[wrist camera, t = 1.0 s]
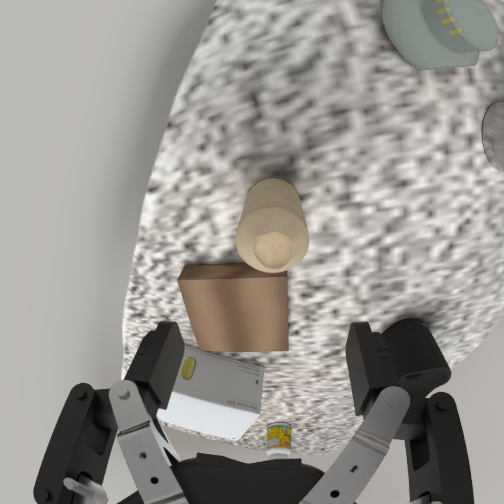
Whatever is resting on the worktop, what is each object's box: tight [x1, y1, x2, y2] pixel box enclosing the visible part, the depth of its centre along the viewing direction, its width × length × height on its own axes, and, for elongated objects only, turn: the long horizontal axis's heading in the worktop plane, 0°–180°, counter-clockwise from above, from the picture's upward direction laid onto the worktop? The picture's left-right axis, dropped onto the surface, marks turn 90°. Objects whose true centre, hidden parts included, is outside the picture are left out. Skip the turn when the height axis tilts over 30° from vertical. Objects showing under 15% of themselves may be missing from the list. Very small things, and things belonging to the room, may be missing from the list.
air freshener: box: [382, 0, 498, 70], centre depth 13 cm, size 11×8×10 cm
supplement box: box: [157, 345, 264, 441], centre depth 40 cm, size 17×13×9 cm
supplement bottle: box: [266, 423, 291, 460], centre depth 49 cm, size 5×5×10 cm
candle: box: [236, 178, 309, 273], centre depth 24 cm, size 6×6×10 cm
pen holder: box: [382, 319, 451, 398], centre depth 32 cm, size 9×9×10 cm
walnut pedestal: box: [178, 263, 289, 352], centre depth 34 cm, size 12×12×3 cm
